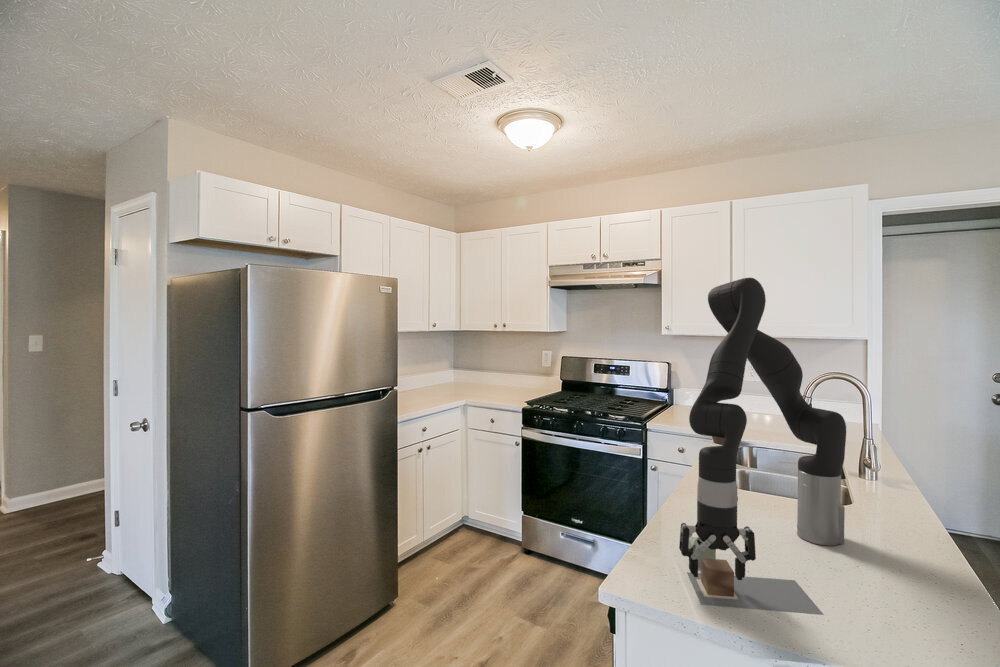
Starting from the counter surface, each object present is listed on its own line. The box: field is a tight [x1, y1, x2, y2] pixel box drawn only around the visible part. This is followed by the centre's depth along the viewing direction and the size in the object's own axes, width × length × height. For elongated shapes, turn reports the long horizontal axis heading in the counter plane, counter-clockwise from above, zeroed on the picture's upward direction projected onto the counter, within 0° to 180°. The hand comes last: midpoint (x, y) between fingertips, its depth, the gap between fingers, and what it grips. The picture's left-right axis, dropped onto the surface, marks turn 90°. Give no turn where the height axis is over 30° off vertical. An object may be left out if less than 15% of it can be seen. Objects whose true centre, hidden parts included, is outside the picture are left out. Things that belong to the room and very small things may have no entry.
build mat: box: [686, 571, 825, 615], centre depth 98 cm, size 22×12×1 cm, turn 81°
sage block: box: [688, 536, 717, 567], centre depth 110 cm, size 5×5×5 cm
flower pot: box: [711, 436, 725, 445], centre depth 217 cm, size 12×11×10 cm
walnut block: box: [700, 558, 735, 597], centre depth 98 cm, size 5×5×5 cm
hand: (716, 576), depth 98 cm, fingers open, 8 cm apart
